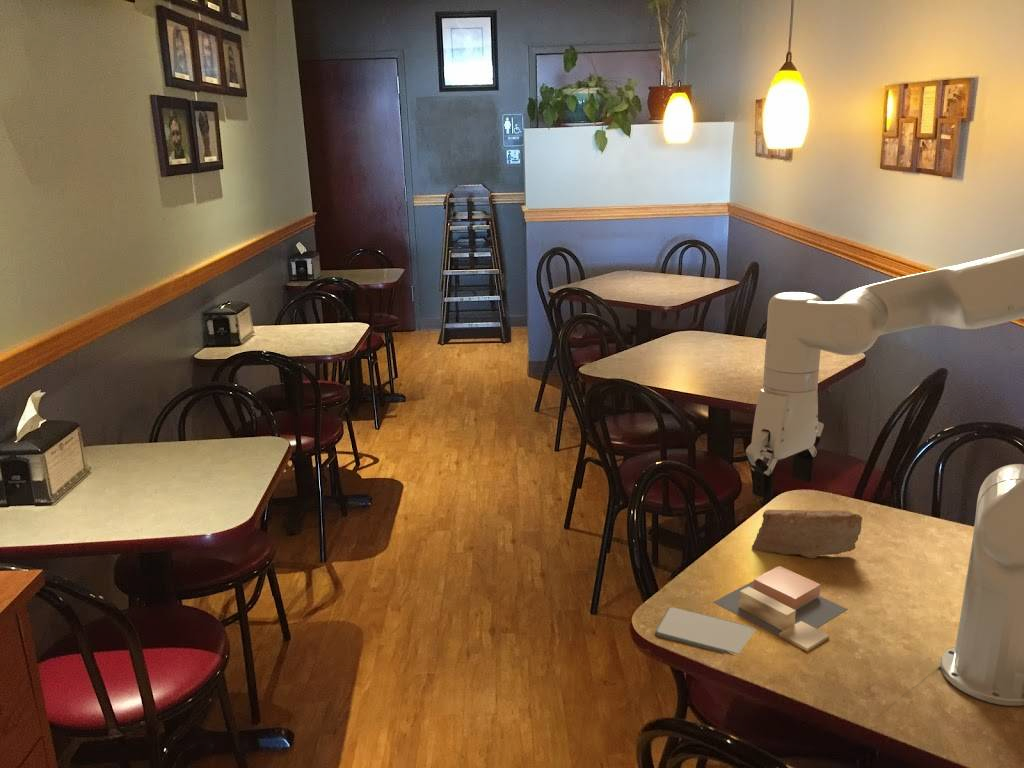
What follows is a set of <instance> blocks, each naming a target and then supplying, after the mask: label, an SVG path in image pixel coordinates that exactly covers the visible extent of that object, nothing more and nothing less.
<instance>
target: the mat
mask: <svg viewBox="0 0 1024 768" xmlns="http://www.w3.org/2000/svg"><path fill="white" fill-rule="evenodd" d="M753 582H754V580H753V581H750V582H748V583H747V584H745V585H743V586H741V587H739V588H737V589H735V590H733V591H731V592H729V593H728V594H725V595H724V596H722V597H720V598H718V599H716V600H714V601H713V603H714V604H716V605H718V606H720V607H722V608H723V609H726V610H727V611H729V612H731V613H733V614H734V615H736V616H738V617H741V618H742V619H744V620H746V621H748V622H750V623H752V624H753V625H755V626H757V627H759V628H761V629H763V630H764V631H767V632H769V633H770V634H772V635H774V636H776V637H777V638H780V639H782V640H783V641H785V642H787V643H789V644H792V643H791V642H789V641H787V640H785V639H783V638H781V637H780V636H779V633H780V632H782V630H780V629H778V628H777V627H775V626H773V625H771V624H769V623H767V622H765V621H764V620H762V619H760V618H758V617H756V616H754V615H752V614H751V613H749V612H747V611H745V610H743V609H741V608H739V596H740V591H741V590H743V589H745V588H747V587H751V588H753ZM846 611H848V608H846V607H844V606H843V605H839V604H838V603H835V602H834V601H831V600H828V599H827V598H824V597H823V596H820V595H819V596H818V598H816V599H814V600H813V601H811V602H809V603H807V604H806V605H804V606H802V607H801V608H799V609H797V610H796V614H795V624H796V623H798V622H800V621H802V622H804V623H806V624H808V625H810V626H812V627H814V628H816V629H819V628H820V627H822V626H823V625H825V624H827V623H829V622H830V621H832V620H833V619H834V618H836V617H838V616H840V615H841V614H842V613H845V612H846ZM792 645H793V644H792Z"/></svg>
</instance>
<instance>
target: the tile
mask: <svg viewBox="0 0 1024 768" xmlns="http://www.w3.org/2000/svg"><path fill="white" fill-rule="evenodd" d="M753 581H754V582H753V589H755V590H757V591H759V592H761V593H763V594H765V595H767V596H768V597H770V598H772V599H774V600H776V601H778V602H780V603H782V604H784V605H786V606H788V607H790V608H792V609H794V610H797V609H799V608H801V607H802V606H804V605H806V604H807V603H809V602H811V601H813V600H814V599H816V598H818V596H820V595H821V584H820V583H818V582H816V581H814V580H812V579H809V578H807V577H805V576H803V575H800V574H798V573H796V572H794V571H792V570H790V569H787V568H785V567H783V566H781V565H778V566H776V567H774V568H772V569H770V570H768V571H767V572H764V573H763V574H761V575H759V576H756V577H755V578H753Z"/></svg>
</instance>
